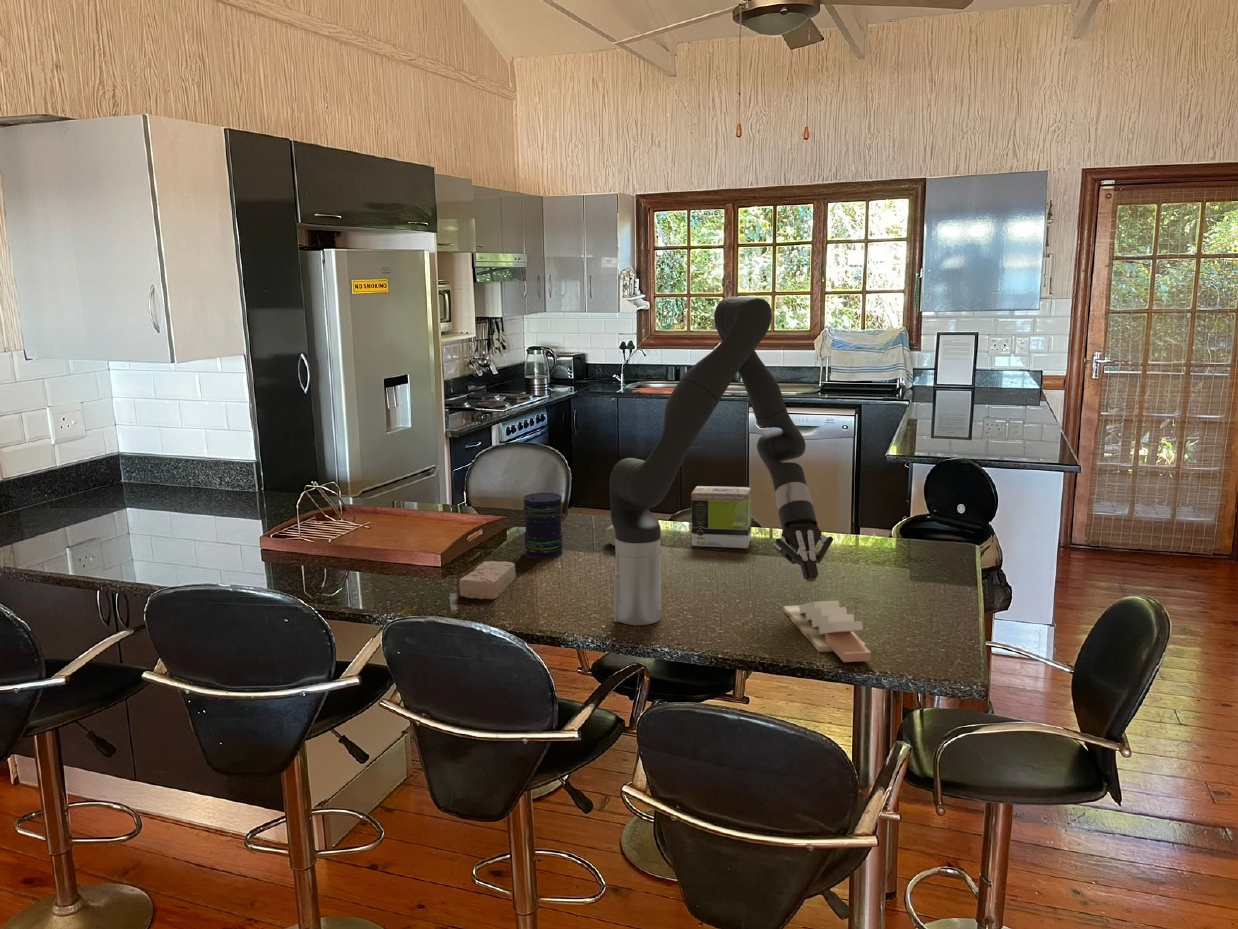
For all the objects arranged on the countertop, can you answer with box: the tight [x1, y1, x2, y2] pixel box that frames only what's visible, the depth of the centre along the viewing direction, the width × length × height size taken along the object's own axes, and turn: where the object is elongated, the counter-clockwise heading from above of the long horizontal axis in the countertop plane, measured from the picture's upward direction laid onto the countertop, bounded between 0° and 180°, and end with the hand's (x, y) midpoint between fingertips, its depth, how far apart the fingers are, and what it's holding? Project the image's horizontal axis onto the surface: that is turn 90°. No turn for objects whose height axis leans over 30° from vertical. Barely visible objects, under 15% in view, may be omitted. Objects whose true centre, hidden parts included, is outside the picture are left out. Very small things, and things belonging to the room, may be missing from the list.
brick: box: [458, 560, 517, 600], centre depth 213 cm, size 17×8×5 cm, turn 169°
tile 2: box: [805, 606, 848, 621], centre depth 184 cm, size 2×5×10 cm
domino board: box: [782, 604, 867, 653], centre depth 186 cm, size 23×9×1 cm, turn 7°
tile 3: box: [812, 613, 855, 627], centre depth 180 cm, size 2×5×10 cm
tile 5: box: [825, 632, 872, 663], centre depth 172 cm, size 2×5×10 cm
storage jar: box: [523, 492, 564, 560], centre depth 240 cm, size 10×10×15 cm
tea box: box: [690, 485, 752, 549], centre depth 248 cm, size 15×10×15 cm, turn 77°
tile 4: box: [819, 620, 864, 634], centre depth 176 cm, size 2×5×10 cm
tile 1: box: [799, 600, 840, 614], centre depth 187 cm, size 2×5×10 cm
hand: (811, 580), depth 191 cm, fingers closed
